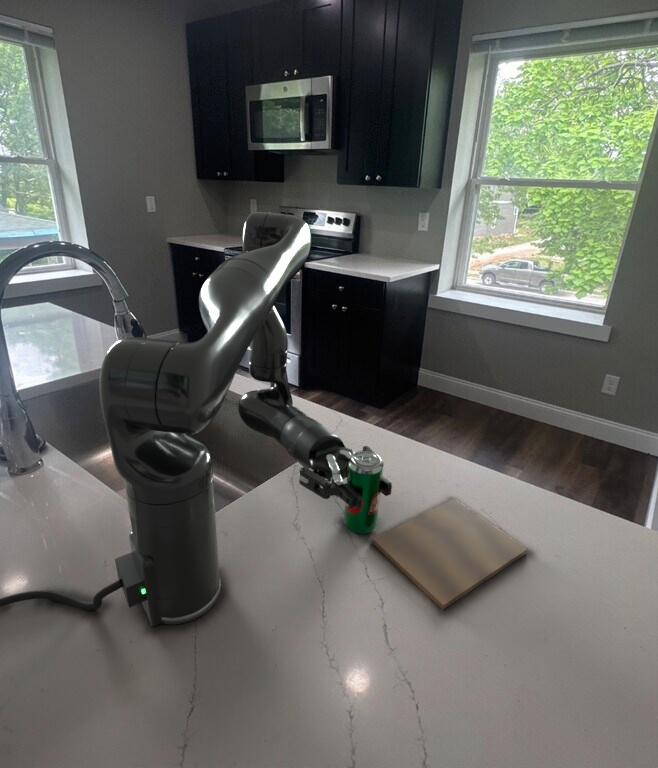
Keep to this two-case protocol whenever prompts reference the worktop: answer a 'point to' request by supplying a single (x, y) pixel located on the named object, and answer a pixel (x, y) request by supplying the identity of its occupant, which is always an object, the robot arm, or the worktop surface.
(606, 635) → the worktop surface
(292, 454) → the robot arm
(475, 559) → the wooden board
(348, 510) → the soda can
